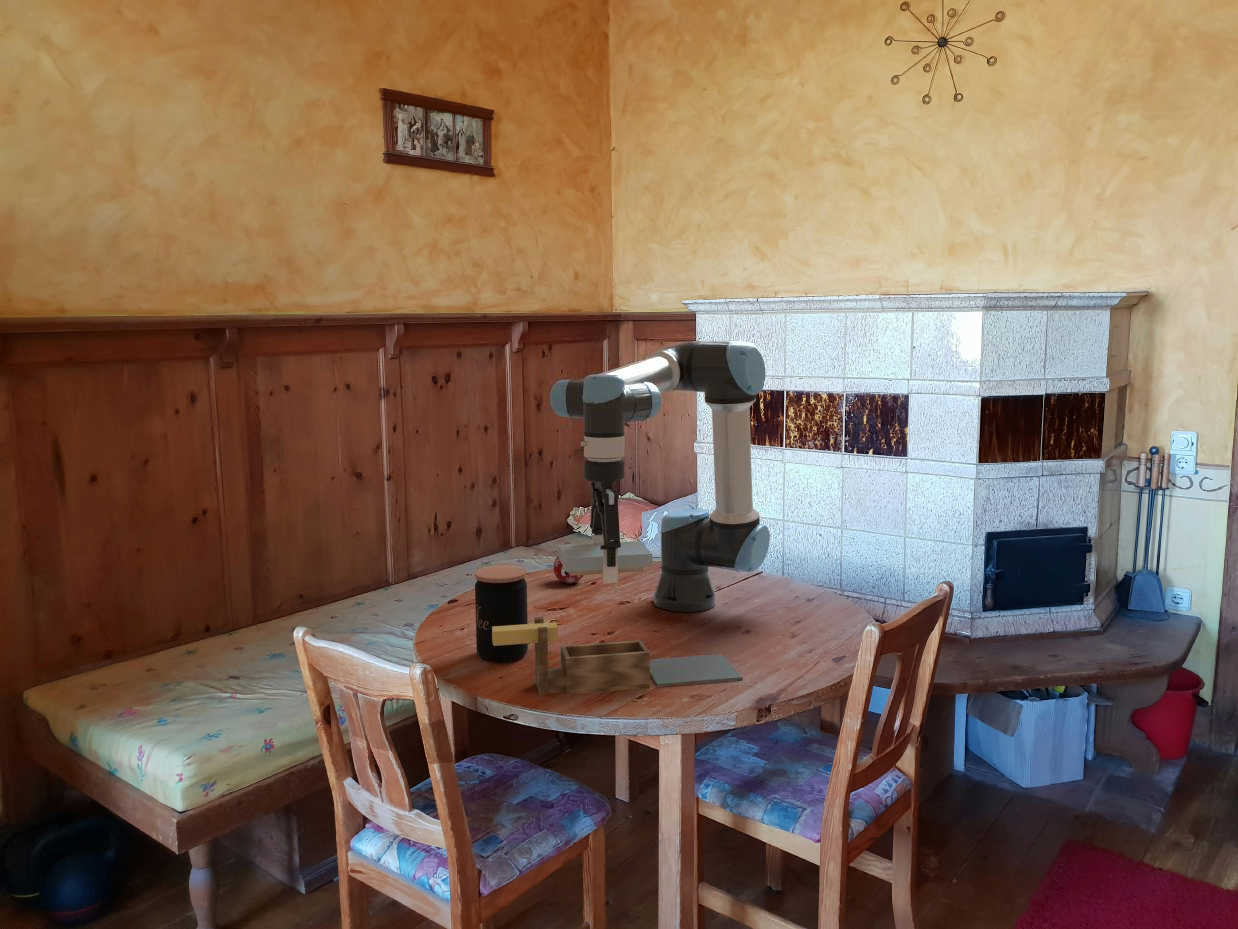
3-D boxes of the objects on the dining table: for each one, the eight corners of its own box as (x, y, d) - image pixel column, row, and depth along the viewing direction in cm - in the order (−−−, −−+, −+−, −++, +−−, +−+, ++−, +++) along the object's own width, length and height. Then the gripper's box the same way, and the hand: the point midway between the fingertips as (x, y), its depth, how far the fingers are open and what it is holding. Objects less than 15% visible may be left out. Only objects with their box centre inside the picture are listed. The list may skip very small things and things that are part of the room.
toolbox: (641, 674, 184) (641, 610, 182) (649, 687, 177) (649, 621, 175) (535, 682, 180) (534, 617, 178) (539, 696, 173) (538, 629, 171)
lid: (640, 561, 182) (640, 541, 181) (652, 574, 172) (652, 553, 172) (558, 565, 179) (558, 545, 178) (566, 579, 169) (566, 558, 168)
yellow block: (555, 636, 177) (555, 622, 176) (558, 641, 174) (557, 627, 174) (492, 640, 174) (492, 626, 174) (493, 645, 172) (493, 631, 171)
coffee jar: (478, 647, 199) (476, 565, 197) (528, 645, 200) (527, 564, 198) (474, 665, 189) (472, 579, 186) (527, 663, 190) (526, 578, 187)
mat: (721, 656, 193) (721, 654, 193) (742, 680, 181) (742, 677, 181) (642, 663, 190) (642, 660, 190) (657, 687, 177) (657, 684, 177)
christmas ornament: (590, 580, 251) (590, 544, 249) (577, 589, 243) (577, 551, 241) (561, 577, 254) (561, 541, 252) (548, 585, 246) (547, 548, 244)
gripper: (574, 450, 182) (575, 561, 186) (594, 468, 160) (595, 593, 164) (612, 449, 184) (612, 559, 187) (637, 467, 162) (637, 590, 165)
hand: (604, 575), depth 176 cm, fingers closed on lid, 10 cm apart
